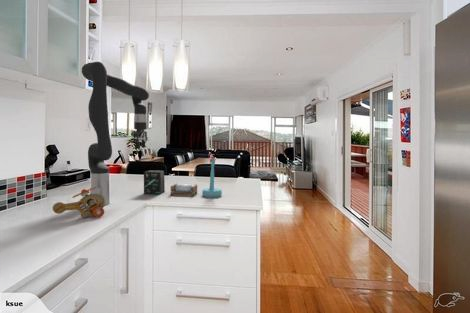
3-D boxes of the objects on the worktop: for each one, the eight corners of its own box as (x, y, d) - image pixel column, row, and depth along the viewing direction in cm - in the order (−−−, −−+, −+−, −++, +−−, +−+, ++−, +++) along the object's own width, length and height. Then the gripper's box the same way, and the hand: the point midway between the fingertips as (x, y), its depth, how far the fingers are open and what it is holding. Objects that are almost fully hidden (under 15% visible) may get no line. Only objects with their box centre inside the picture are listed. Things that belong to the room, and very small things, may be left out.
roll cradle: (193, 196, 181) (193, 186, 181) (170, 195, 182) (170, 186, 182) (197, 193, 191) (197, 184, 191) (175, 192, 192) (175, 183, 192)
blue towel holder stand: (225, 195, 184) (226, 157, 183) (211, 198, 175) (212, 158, 174) (212, 193, 193) (212, 156, 191) (198, 195, 184) (198, 156, 182)
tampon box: (164, 192, 194) (164, 170, 193) (159, 194, 184) (159, 172, 184) (149, 191, 195) (149, 170, 194) (143, 194, 186) (143, 171, 185)
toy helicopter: (106, 216, 132) (106, 187, 132) (54, 224, 120) (53, 191, 119) (102, 212, 139) (101, 184, 138) (51, 219, 126) (51, 189, 125)
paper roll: (193, 192, 189) (193, 184, 189) (191, 193, 184) (191, 185, 183) (177, 191, 190) (177, 183, 189) (175, 192, 184) (175, 184, 184)
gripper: (139, 122, 185) (139, 147, 186) (129, 121, 170) (129, 148, 171) (150, 122, 184) (150, 147, 185) (141, 121, 170) (141, 148, 171)
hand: (140, 147), depth 178 cm, fingers open, 8 cm apart
